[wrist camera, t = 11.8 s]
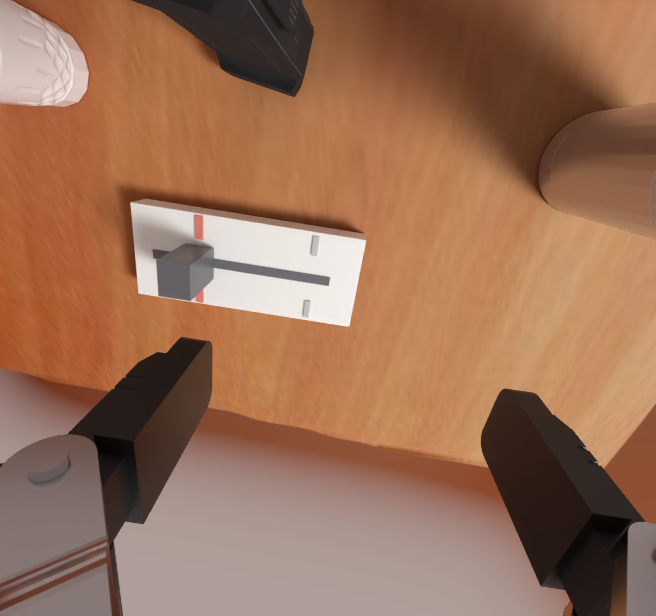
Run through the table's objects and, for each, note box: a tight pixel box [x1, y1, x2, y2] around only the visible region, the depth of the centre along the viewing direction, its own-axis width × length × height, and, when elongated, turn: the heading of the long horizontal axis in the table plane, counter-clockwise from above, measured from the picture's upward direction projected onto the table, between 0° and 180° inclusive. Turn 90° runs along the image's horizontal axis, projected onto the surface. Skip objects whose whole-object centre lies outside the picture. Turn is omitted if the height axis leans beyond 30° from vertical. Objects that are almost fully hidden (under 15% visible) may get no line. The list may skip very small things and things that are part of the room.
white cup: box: [0, 0, 89, 107], centre depth 28 cm, size 8×8×10 cm
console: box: [130, 199, 366, 327], centre depth 38 cm, size 24×10×3 cm, turn 82°
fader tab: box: [156, 243, 214, 301], centre depth 34 cm, size 3×4×6 cm
